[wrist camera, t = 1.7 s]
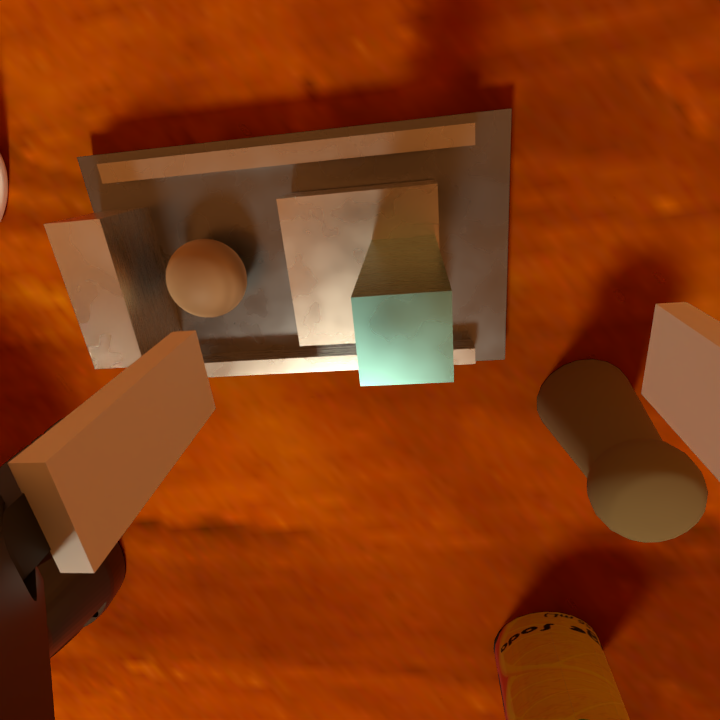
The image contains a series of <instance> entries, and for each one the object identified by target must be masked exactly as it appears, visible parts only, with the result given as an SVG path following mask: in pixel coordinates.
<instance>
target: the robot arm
mask: <svg viewBox="0 0 720 720" xmlns="http://www.w3.org/2000/svg"><path fill="white" fill-rule="evenodd" d="M641 394H642V395H643V396H644V397H645V398H646V400H647V401H648V402H649V403H650V404H651V405H652V406H653V407H654V408H655V410H656V411H657V412H658V413H659V414H660V415H661V416H662V417H663V419H664V420H665V421H666V422H667V423H668V424H669V425H670V426H671V428H672V429H673V430H674V431H675V432H676V433H677V434H678V435H679V436H680V438H681V439H682V440H683V441H684V442H685V443H686V444H687V445H688V447H689V448H690V449H691V450H692V451H693V452H694V453H695V454H696V456H697V457H698V458H699V459H700V460H701V461H702V462H703V463H704V464H705V466H706V467H707V468H708V469H709V470H710V471H711V472H712V473H713V475H714V476H715V477H716V478H717V479H718V480H719V481H720V322H719V321H717V320H716V319H714V318H712V317H711V316H709V315H707V314H706V313H704V312H702V311H701V310H699V309H697V308H696V307H694V306H692V305H691V304H689V303H687V302H676V303H659V304H656V305H655V311H654V317H653V323H652V330H651V336H650V342H649V348H648V354H647V361H646V367H645V373H644V379H643V386H642V392H641ZM215 409H216V408H215V404H214V400H213V396H212V392H211V388H210V384H209V380H208V376H207V372H206V368H205V364H204V361H203V357H202V353H201V349H200V345H199V341H198V337H197V333H196V330H194V331H176V332H171V333H170V334H169V335H168V336H166V337H165V338H164V339H163V340H161V341H160V342H159V343H158V344H156V345H155V346H154V347H153V348H151V349H150V350H149V351H148V352H146V353H145V354H144V355H143V356H141V357H140V358H139V359H138V360H136V361H135V362H134V363H133V364H131V365H130V366H129V367H128V368H126V369H125V370H124V371H123V372H121V373H120V374H119V375H117V376H116V377H115V378H114V379H112V380H111V381H110V382H109V383H107V384H106V385H105V386H104V387H102V388H101V389H100V390H99V391H97V392H96V393H95V394H94V395H92V396H91V397H90V398H89V399H87V400H86V401H85V402H84V403H82V404H81V405H80V406H79V407H77V408H76V409H75V410H74V411H72V412H71V413H70V414H69V415H67V416H66V417H64V418H62V419H60V420H59V421H58V422H56V423H55V424H54V425H53V426H51V427H50V428H49V429H48V430H46V431H45V432H44V435H40V436H39V437H37V438H36V439H35V440H34V441H32V442H31V443H32V444H31V445H27V446H26V447H25V448H24V449H22V450H21V451H20V452H19V453H17V454H16V455H15V456H13V457H12V458H11V459H10V460H8V461H7V462H6V463H5V464H3V465H2V466H1V467H0V720H55V717H54V704H53V692H52V679H51V667H50V658H51V657H52V656H54V655H55V654H56V653H57V652H58V651H59V650H61V649H62V648H63V647H64V646H65V645H66V644H67V643H68V642H69V641H70V640H72V639H73V638H74V637H75V636H76V635H77V634H78V633H79V632H80V630H81V629H82V628H83V627H85V626H87V625H89V624H90V623H92V622H93V621H94V620H96V619H97V618H98V617H99V616H100V615H101V614H102V613H103V612H104V611H105V610H106V608H107V607H108V606H109V604H110V603H111V601H112V600H113V598H114V596H115V595H116V593H117V592H118V590H119V589H120V587H121V585H122V583H123V580H124V576H125V560H124V556H123V553H122V550H121V547H120V545H119V543H118V541H119V539H120V538H121V536H122V535H123V534H124V532H125V531H126V530H127V528H128V527H129V526H130V524H131V523H132V522H133V520H134V519H135V517H136V516H137V515H138V513H139V512H140V511H141V509H142V508H143V507H144V505H145V504H146V502H147V501H148V500H149V498H150V497H151V496H152V494H153V493H154V492H155V490H156V489H157V488H158V486H159V485H160V483H161V482H162V481H163V479H164V478H165V477H166V475H167V474H168V473H169V471H170V470H171V469H172V467H173V466H174V464H175V463H176V462H177V460H178V459H179V458H180V456H181V455H182V454H183V452H184V451H185V449H186V448H187V447H188V445H189V444H190V443H191V441H192V440H193V439H194V437H195V436H196V435H197V433H198V432H199V430H200V429H201V428H202V426H203V425H204V424H205V422H206V421H207V420H208V418H209V417H210V416H211V414H212V413H213V411H214V410H215Z"/></svg>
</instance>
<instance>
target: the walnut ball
mask: <svg viewBox="0 0 720 720" xmlns="http://www.w3.org/2000/svg"><path fill="white" fill-rule="evenodd" d="M166 284H167V288H168V291H169V293H170V295H171V297H172V298H173V300H174V301H175V302H176V303H177V304H178V305H179V306H180V307H181V308H182V309H183V310H185V311H186V312H188V313H190V314H193V315H196V316H199V317H218V316H221V315H224V314H226V313H228V312H230V311H231V310H233V309H234V308H235V307H236V306H237V305H238V304H239V303H240V301H241V300H242V298H243V296H244V294H245V291H246V287H247V274H246V269H245V266H244V264H243V262H242V260H241V258H240V257H239V256H238V254H237V253H236V252H235V251H234V250H233V249H232V248H230V247H229V246H227V245H226V244H224V243H222V242H219V241H216V240H212V239H197V240H193V241H190V242H187V243H185V244H184V245H182V246H181V247H179V248H178V249H177V250H176V251H175V252H174V254H173V255H172V256H171V258H170V260H169V262H168V265H167V268H166Z"/></svg>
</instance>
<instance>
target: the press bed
mask: <svg viewBox="0 0 720 720" xmlns="http://www.w3.org/2000/svg"><path fill="white" fill-rule="evenodd" d="M511 113H512V108H511V109H502V110H493V111H484V112H475V113H466V114H457V115H449V116H440V117H431V118H422V119H413V120H404V121H395V122H386V123H377V124H368V125H359V126H350V127H342V128H333V129H324V130H315V131H306V132H297V133H288V134H279V135H270V136H261V137H252V138H243V139H235V140H226V141H217V142H208V143H199V144H190V145H181V146H172V147H163V148H154V149H145V150H136V151H127V152H119V153H110V154H101V155H92V156H83V157H77V159H78V162H79V166H80V169H81V172H82V175H83V178H84V182H85V185H86V188H87V191H88V195H89V198H90V201H91V204H92V207H93V211H94V213H91V214H86V215H82V216H77V217H73V218H69V219H64V220H60V221H55V222H51V223H46V224H44V226H45V229H46V232H47V235H48V238H49V241H50V243H51V246H52V249H53V252H54V255H55V258H56V260H57V263H58V266H59V269H60V272H61V274H62V277H63V280H64V283H65V286H66V289H67V291H68V294H69V297H70V300H71V303H72V305H73V308H74V311H75V314H76V317H77V320H78V322H79V325H80V328H81V331H82V334H83V336H84V339H85V342H86V345H87V348H88V351H89V353H90V356H91V359H92V362H93V365H94V368H95V369H106V368H124V367H129V366H130V365H131V364H133V363H134V362H135V361H136V360H138V359H139V358H140V357H141V356H143V355H144V354H145V353H146V352H148V351H149V350H150V349H151V348H153V347H154V346H155V345H156V344H158V343H159V342H160V341H161V340H163V339H164V338H165V337H166V336H168V335H169V334H170V333H171V332H176V331H194V330H196V333H197V337H198V341H199V345H200V349H201V353H202V357H203V361H204V364H205V368H206V372H207V376H208V377H222V376H242V375H262V374H282V373H302V372H322V371H342V370H359V369H358V360H357V351H356V343H347V344H329V345H312V346H300V344H299V338H298V332H297V326H296V319H295V313H294V307H293V301H292V295H291V288H290V282H289V276H288V270H287V263H286V257H285V251H284V245H283V238H282V232H281V226H280V220H279V213H278V207H277V201H276V199H277V198H280V197H282V196H284V195H287V194H289V193H297V192H308V191H318V190H328V189H339V188H349V187H359V186H370V185H380V184H390V183H401V182H411V181H421V180H432V179H435V181H436V182H437V183H438V213H439V246H440V253H441V256H442V259H443V263H444V266H445V269H446V272H447V276H448V279H449V282H450V286H451V289H452V316H453V365H462V364H475V361H483V360H502V359H505V334H506V297H507V260H508V224H509V187H510V150H511ZM197 239H212V240H216V241H219V242H222V243H224V244H226V245H227V246H229V247H230V248H232V249H233V250H234V251H235V252H236V253H237V254H238V256H239V257H240V258H241V260H242V262H243V264H244V266H245V269H246V274H247V287H246V291H245V294H244V296H243V298H242V300H241V301H240V303H239V304H238V305H237V306H236V307H235V308H234V309H233V310H231V311H230V312H228V313H226V314H224V315H221V316H218V317H199V316H196V315H193V314H190V313H188V312H186V311H185V310H183V309H182V308H181V307H180V306H179V305H178V304H177V303H176V302H175V301H174V300H173V298H172V297H171V295H170V293H169V291H168V288H167V284H166V268H167V265H168V262H169V260H170V258H171V256H172V255H173V254H174V252H175V251H176V250H177V249H178V248H179V247H181V246H182V245H184V244H185V243H187V242H190V241H193V240H197Z"/></svg>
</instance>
